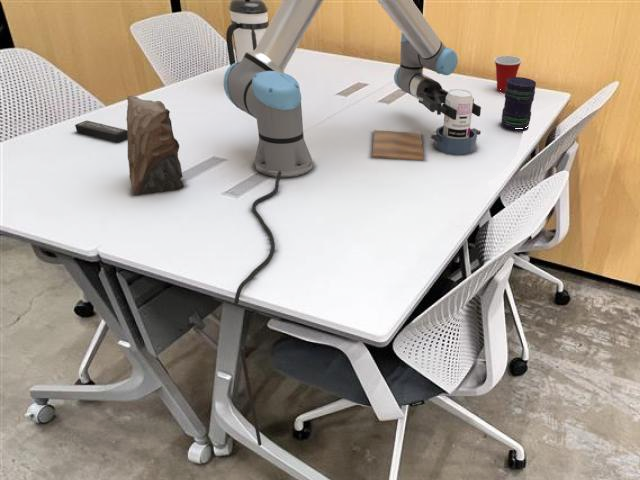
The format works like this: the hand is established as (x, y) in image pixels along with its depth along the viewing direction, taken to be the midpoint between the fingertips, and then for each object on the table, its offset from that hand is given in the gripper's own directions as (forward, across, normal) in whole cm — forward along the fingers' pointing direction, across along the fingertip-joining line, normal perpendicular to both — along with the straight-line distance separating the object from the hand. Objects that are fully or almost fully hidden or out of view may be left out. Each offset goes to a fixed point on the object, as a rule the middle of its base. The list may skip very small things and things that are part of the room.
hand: (467, 113), depth 173 cm
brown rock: (-13, +87, -13) cm, 89 cm away
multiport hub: (-51, +92, -13) cm, 106 cm away
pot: (-5, 0, -12) cm, 13 cm away
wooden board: (-12, +16, -12) cm, 24 cm away
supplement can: (-5, 0, -11) cm, 12 cm away
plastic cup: (-45, -52, -12) cm, 70 cm away
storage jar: (-12, -30, -12) cm, 34 cm away
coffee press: (-82, +36, -12) cm, 90 cm away
